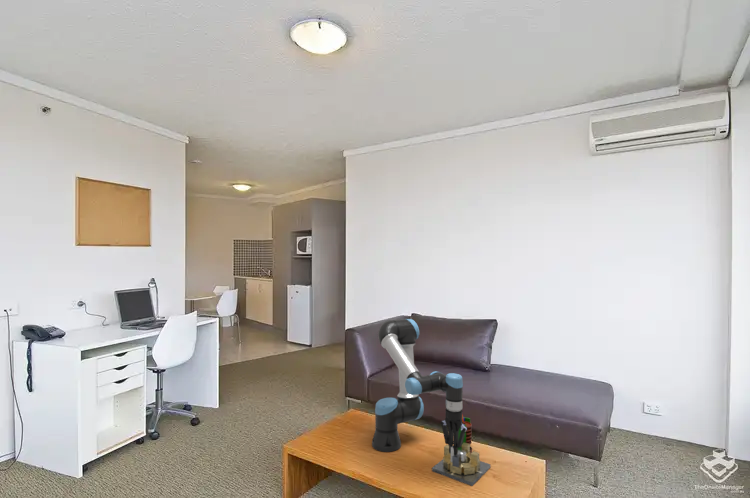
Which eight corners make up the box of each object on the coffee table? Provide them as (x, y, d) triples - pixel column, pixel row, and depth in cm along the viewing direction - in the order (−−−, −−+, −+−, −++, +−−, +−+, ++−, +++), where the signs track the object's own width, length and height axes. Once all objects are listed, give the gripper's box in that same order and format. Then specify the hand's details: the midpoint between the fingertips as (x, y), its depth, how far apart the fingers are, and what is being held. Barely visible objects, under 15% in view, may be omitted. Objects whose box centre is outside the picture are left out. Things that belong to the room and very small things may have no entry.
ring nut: (438, 468, 189) (438, 452, 189) (451, 454, 203) (450, 439, 203) (473, 478, 181) (473, 461, 181) (483, 462, 194) (483, 447, 195)
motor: (472, 457, 203) (472, 417, 203) (453, 456, 204) (453, 415, 205) (471, 448, 213) (471, 409, 213) (454, 446, 214) (454, 408, 215)
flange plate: (431, 471, 190) (431, 453, 190) (452, 454, 206) (452, 438, 206) (472, 486, 178) (472, 467, 178) (490, 467, 193) (490, 450, 193)
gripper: (437, 407, 188) (436, 459, 188) (463, 414, 180) (462, 469, 180) (445, 403, 194) (444, 453, 194) (470, 410, 186) (469, 462, 186)
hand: (453, 461), depth 187 cm, fingers closed
